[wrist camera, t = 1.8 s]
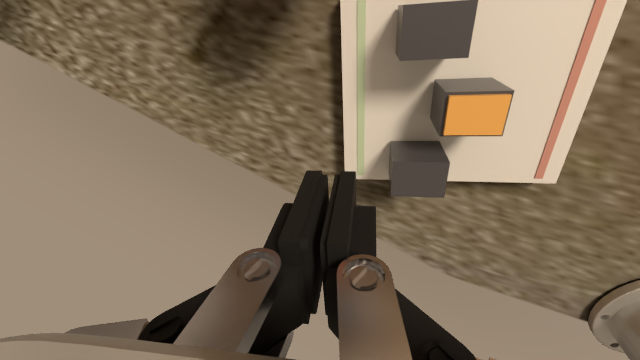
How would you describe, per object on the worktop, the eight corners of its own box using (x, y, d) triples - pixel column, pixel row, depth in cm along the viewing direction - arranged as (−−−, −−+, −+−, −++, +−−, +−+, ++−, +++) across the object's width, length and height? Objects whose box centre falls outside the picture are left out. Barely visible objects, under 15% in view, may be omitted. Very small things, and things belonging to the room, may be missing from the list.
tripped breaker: (492, 77, 21) (516, 91, 18) (483, 117, 23) (504, 137, 19) (434, 79, 22) (446, 93, 18) (429, 117, 24) (440, 138, 20)
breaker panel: (616, -29, 19) (709, -43, 14) (544, 172, 27) (587, 213, 21) (342, -6, 22) (333, -10, 17) (346, 169, 30) (340, 204, 24)
